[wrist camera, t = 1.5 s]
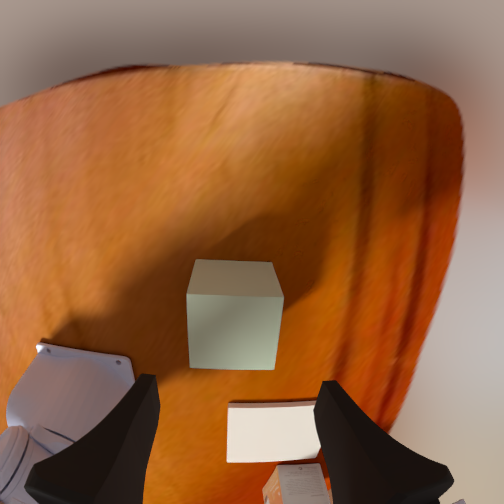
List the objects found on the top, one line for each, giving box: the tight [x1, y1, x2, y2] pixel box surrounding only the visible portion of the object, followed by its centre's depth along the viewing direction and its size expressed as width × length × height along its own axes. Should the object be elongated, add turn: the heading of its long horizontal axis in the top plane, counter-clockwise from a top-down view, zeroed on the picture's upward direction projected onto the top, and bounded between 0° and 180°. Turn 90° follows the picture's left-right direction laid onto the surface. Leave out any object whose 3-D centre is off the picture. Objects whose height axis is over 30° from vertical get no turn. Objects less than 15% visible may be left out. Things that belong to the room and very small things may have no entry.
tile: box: [227, 401, 321, 462], centre depth 26 cm, size 10×10×1 cm
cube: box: [186, 259, 284, 370], centre depth 19 cm, size 5×5×5 cm
